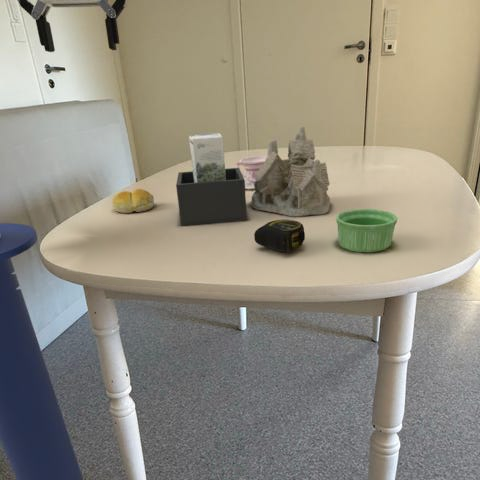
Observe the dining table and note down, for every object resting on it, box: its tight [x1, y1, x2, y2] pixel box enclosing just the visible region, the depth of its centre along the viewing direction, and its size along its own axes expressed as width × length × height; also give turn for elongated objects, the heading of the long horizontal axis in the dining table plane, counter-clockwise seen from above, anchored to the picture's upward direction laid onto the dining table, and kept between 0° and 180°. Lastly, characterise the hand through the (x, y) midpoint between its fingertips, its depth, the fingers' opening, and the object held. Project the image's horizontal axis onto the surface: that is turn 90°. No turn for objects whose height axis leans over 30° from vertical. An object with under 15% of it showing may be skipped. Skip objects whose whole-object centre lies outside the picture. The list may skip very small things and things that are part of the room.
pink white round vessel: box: [236, 155, 268, 190], centre depth 111 cm, size 12×12×6 cm
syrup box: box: [188, 132, 226, 183], centre depth 87 cm, size 6×6×14 cm
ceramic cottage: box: [250, 126, 331, 217], centre depth 89 cm, size 16×16×15 cm
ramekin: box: [335, 208, 398, 253], centre depth 69 cm, size 9×9×4 cm
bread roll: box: [111, 188, 155, 214], centre depth 98 cm, size 8×9×4 cm
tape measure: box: [253, 219, 306, 253], centre depth 70 cm, size 7×7×4 cm
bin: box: [175, 167, 248, 226], centre depth 89 cm, size 13×13×8 cm
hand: (81, 50), depth 70 cm, fingers open, 9 cm apart
